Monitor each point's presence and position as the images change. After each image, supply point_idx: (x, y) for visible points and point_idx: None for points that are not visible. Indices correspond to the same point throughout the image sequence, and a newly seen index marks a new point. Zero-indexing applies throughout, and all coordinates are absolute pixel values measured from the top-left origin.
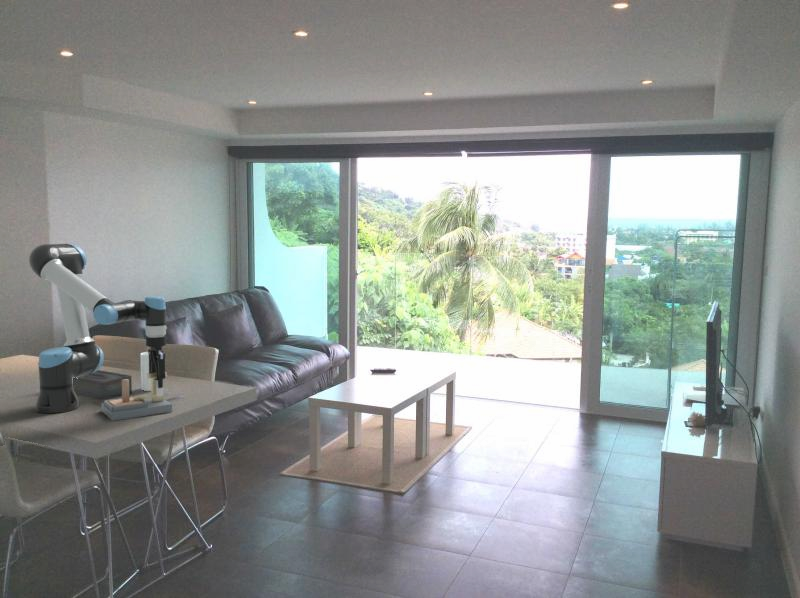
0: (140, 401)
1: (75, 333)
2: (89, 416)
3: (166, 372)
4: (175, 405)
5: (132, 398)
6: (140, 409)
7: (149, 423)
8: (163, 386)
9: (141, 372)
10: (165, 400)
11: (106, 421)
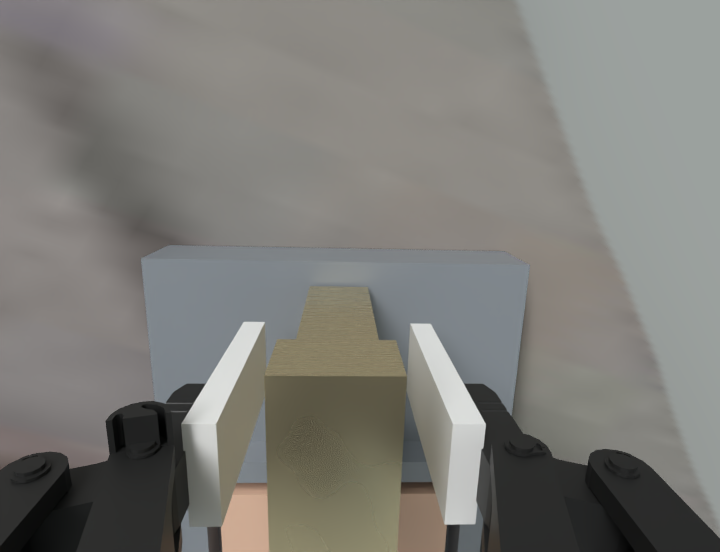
0: (401, 500)
1: None
2: None
3: (389, 380)
4: (322, 155)
5: (254, 525)
6: None
7: (677, 464)
8: (453, 366)
9: None
10: (358, 266)
11: None
